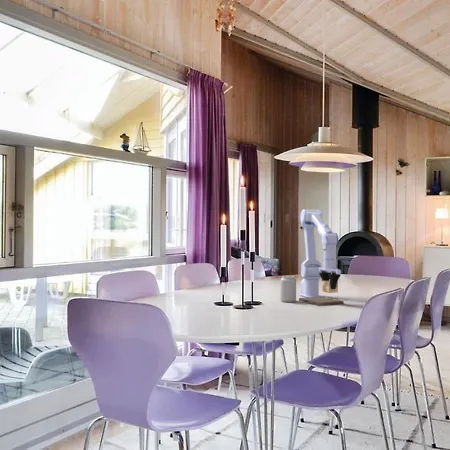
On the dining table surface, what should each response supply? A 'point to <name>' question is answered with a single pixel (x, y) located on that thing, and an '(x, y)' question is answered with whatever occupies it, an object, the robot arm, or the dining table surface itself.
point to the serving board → (321, 301)
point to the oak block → (327, 287)
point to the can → (288, 289)
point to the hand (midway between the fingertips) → (329, 288)
